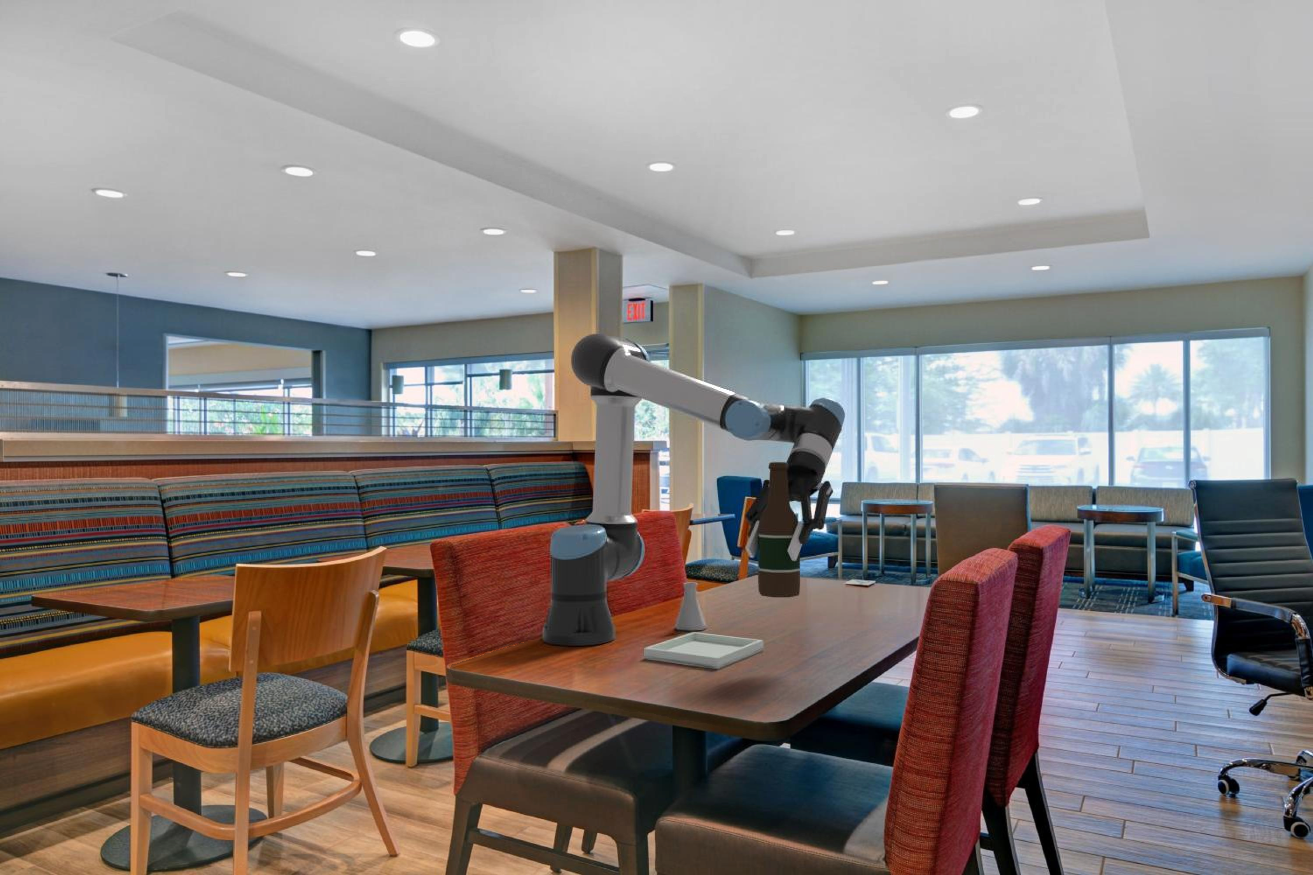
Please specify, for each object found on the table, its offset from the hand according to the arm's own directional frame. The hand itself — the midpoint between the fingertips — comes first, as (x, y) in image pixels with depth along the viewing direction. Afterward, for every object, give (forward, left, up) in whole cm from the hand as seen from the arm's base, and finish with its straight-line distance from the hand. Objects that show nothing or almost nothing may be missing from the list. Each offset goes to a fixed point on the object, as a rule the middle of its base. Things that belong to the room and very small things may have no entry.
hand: (770, 554), depth 159 cm
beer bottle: (0, +3, -8) cm, 8 cm away
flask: (-32, +25, -21) cm, 46 cm away
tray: (-16, +4, -20) cm, 27 cm away
